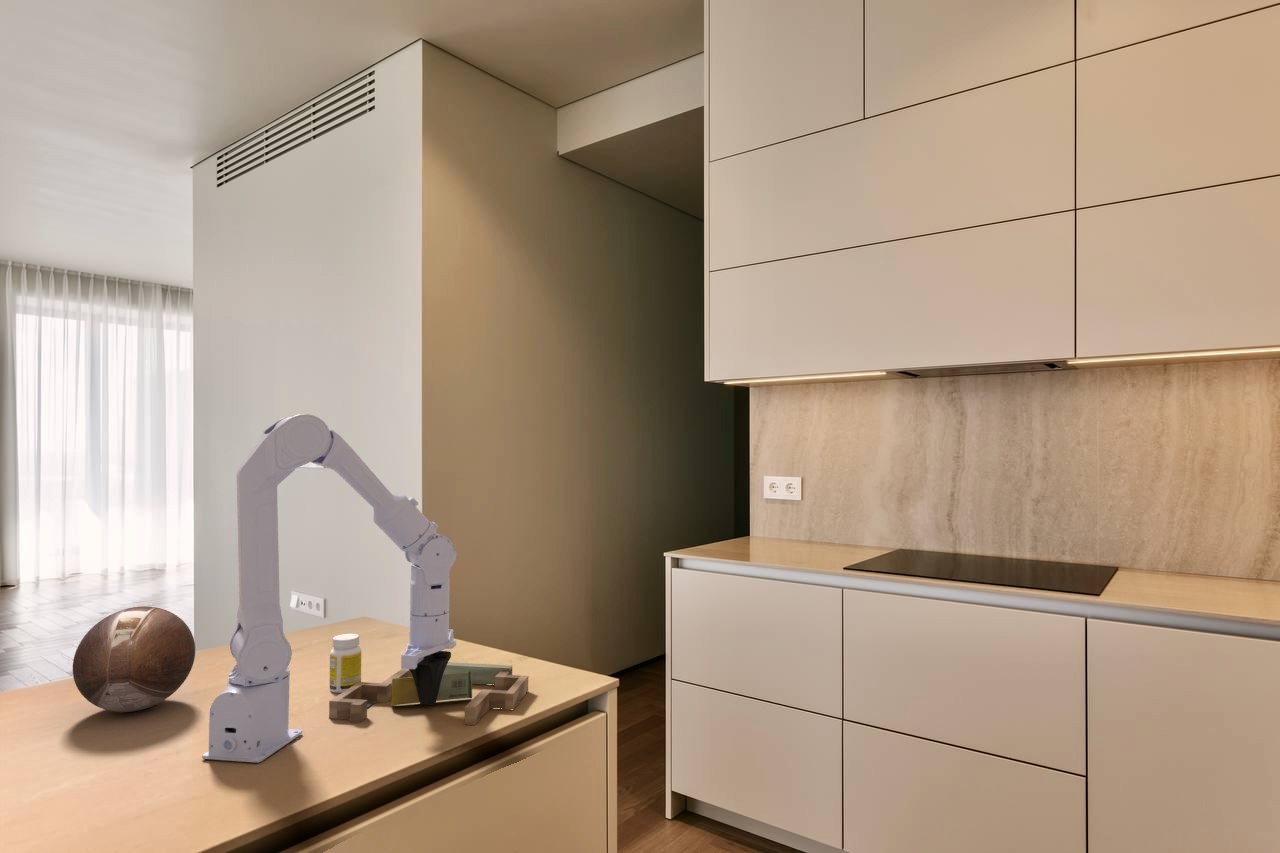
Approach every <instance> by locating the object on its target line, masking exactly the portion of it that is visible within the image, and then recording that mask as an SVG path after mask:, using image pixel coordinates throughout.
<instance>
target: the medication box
mask: <svg viewBox="0 0 1280 853" xmlns="http://www.w3.org/2000/svg"><path fill="white" fill-rule="evenodd" d="M461 699H473V685H472V672H471V671H469V672H461V673H450V674H443V676H442V679H441V683H440V688H439V692H438V696H437V700H436V702H439V701H450V700H451V701H452V700H461ZM418 703H419V704H420V701H419V697H418V693H417V689H416V685H415V681H414V678H413V677H404V678H393V679H392V682H391V699H390V706H401V705H410V704H418Z"/></svg>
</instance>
